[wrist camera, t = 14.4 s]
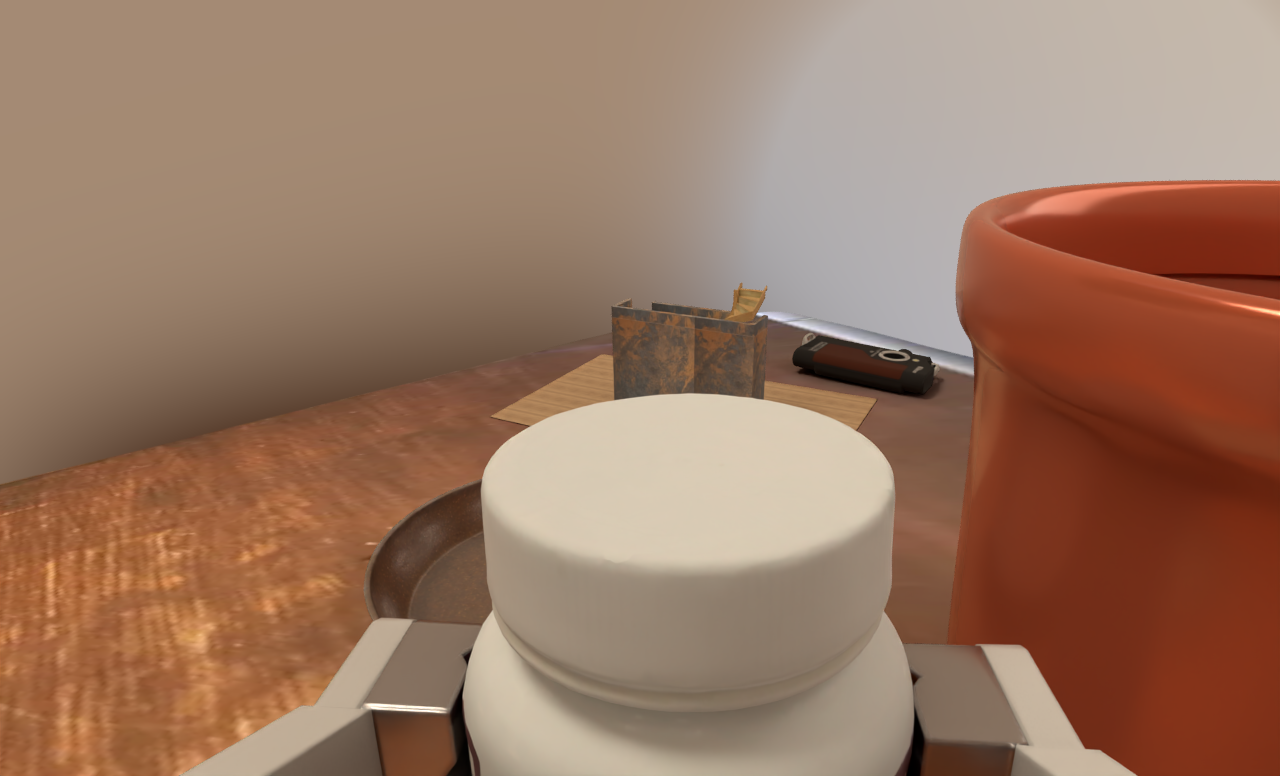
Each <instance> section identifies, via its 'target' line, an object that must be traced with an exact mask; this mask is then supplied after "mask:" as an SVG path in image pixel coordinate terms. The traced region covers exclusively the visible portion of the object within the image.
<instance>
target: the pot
mask: <svg viewBox="0 0 1280 776" xmlns="http://www.w3.org/2000/svg"><path fill="white" fill-rule="evenodd" d="M956 306H957V313H958V316H959V320H960V323H961V325H962V327H963V329H964V331H965V333H966V334H967V336H968V337H969V339H970V341H971V344H972V348H973V357H974V400H973V412H972V425H971V435H970V445H969V455H968V464H967V473H966V482H965V490H964V499H963V507H962V515H961V524H960V532H959V540H958V548H957V557H956V565H955V573H954V582H953V591H952V599H951V609H950V619H949V628H948V641H947V645H970V646H975V645H976V644H999V645H1021V646H1023V647H1024V648H1025V649H1027V650H1028V652H1029V653H1030V655H1031V657H1032V658H1033V660H1034V662H1035V664H1036V665H1037V667H1038V669H1039V670H1040V672H1041V674H1042V676H1043V677H1044V679H1045V681H1046V682H1047V684H1048V686H1049V688H1050V689H1051V691H1052V693H1053V694H1054V696H1055V698H1056V700H1057V701H1058V703H1059V705H1060V706H1061V708H1062V710H1063V712H1064V713H1065V715H1066V717H1067V718H1068V720H1069V722H1070V724H1071V725H1072V727H1073V729H1074V730H1075V732H1076V734H1077V736H1078V737H1079V739H1080V741H1081V742H1082V744H1083V746H1084V748H1085V749H1092V750H1100V751H1102V752H1103V753H1105V754H1106V755H1108V756H1109V757H1111V758H1112V759H1114V760H1115V761H1116V762H1118V763H1119V764H1121V765H1122V766H1124V767H1125V768H1127V769H1128V770H1130V771H1131V772H1133V773H1134V774H1136V775H1137V776H1280V181H1261V180H1258V181H1257V180H1194V181H1144V182H1118V183H1100V184H1085V185H1071V186H1061V187H1052V188H1043V189H1036V190H1029V191H1024V192H1018V193H1013V194H1009V195H1005V196H1001V197H997V198H994V199H991V200H989V201H987V202H984V203H982V204H980V205H979V206H977V207H976V208H975V209H974V210H973V211H971V213H970V214H969V215H968V217H967V219H966V221H965V224H964V227H963V232H962V237H961V244H960V252H959V258H958V266H957V277H956Z"/></svg>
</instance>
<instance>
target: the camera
mask: <svg viewBox="0 0 1280 776" xmlns="http://www.w3.org/2000/svg"><path fill="white" fill-rule="evenodd" d="M809 336H810V341H808V340H807V338H808V337H809ZM793 364H794V365H795V366H799V367H802V368H807V369H811V370H814V371H815V373H816V374H819V375H823V376H828V377H832V378H837V379H841V380H845V381H850V382H854V383H859V384H863V385H868V386H872V387H877V388H881V389H886V390H890V391H894V392H899V393H903V392H905V391H910V392H915V393H920V394H924V393H925V392H926V391H927V390H928V389H929V388H930V387H931V386H932V383H933V377H934V376H935V375H936V374H937V373H938V372H939V365H938V364H935V363H933V362H932V361H931V358H930V357H926V356H921V355H916V354H912V353H911V352H910V351H909V350H907V349H901V350H899V351H895V350H890V349H885V348H880V347H875V346H870V345H864V344H859V343H854V342H849V341H844V340H839V339H834V338H829V337H824V336H817V337H815V336H814V335H813V334H812V333H809V334H807V335H806V336H804V338H803V342H802V346H800V347H799V348H797V349H796V350H795V352H794V354H793Z"/></svg>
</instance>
